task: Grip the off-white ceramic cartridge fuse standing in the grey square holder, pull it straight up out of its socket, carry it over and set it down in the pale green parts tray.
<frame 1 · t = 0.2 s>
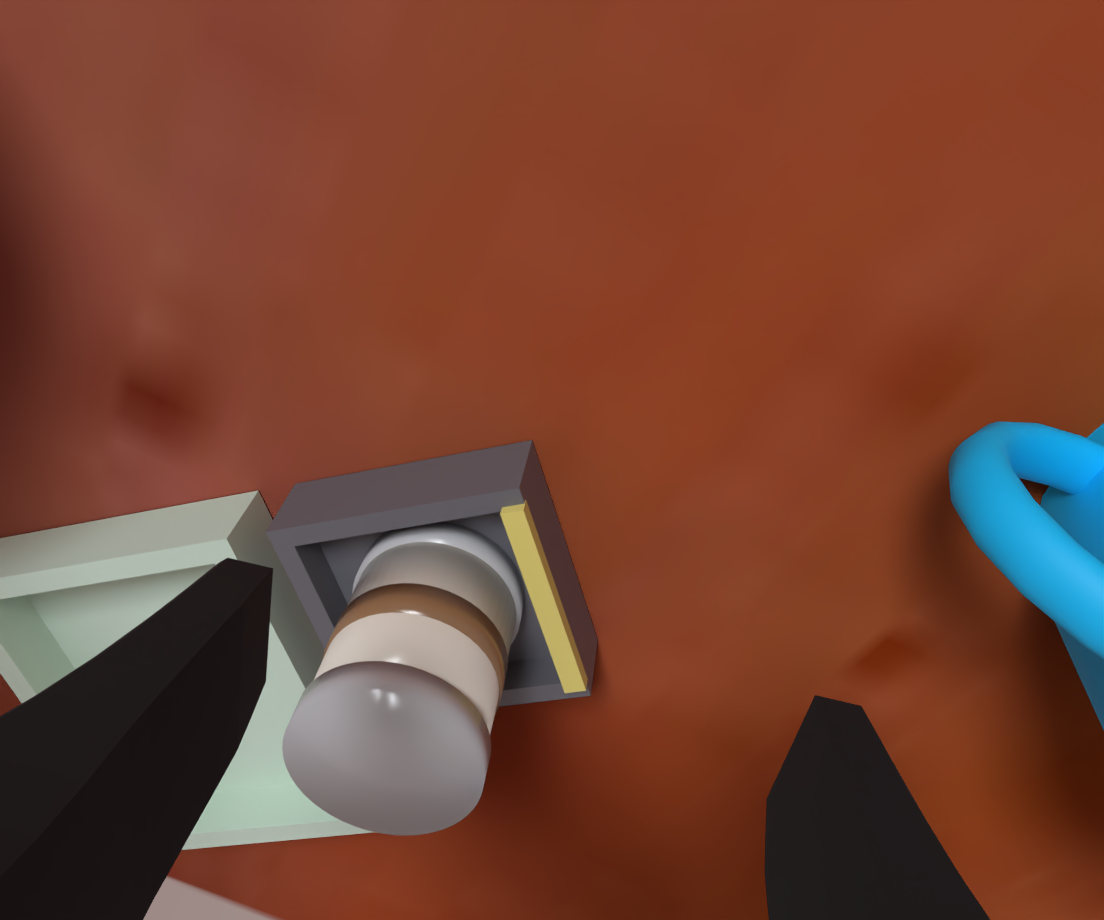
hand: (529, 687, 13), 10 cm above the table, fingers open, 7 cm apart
parts tray: (203, 663, 28), on the table
fuse: (442, 589, 25), point 1 cm above the table, touching grey square holder
grey square holder: (450, 563, 25), on the table
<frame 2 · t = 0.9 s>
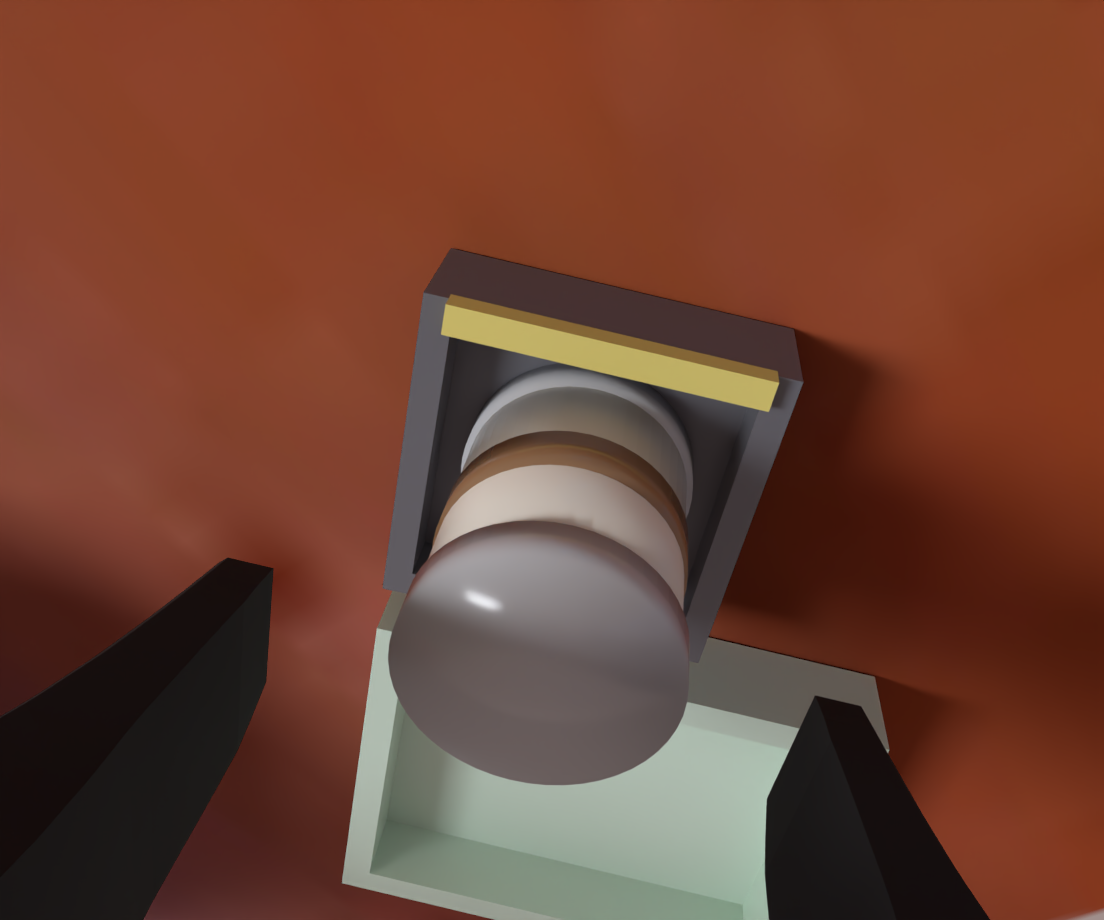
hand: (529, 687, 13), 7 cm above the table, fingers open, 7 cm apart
parts tray: (596, 751, 23), on the table
fuse: (579, 464, 18), point 1 cm above the table, touching grey square holder
grey square holder: (585, 436, 19), on the table
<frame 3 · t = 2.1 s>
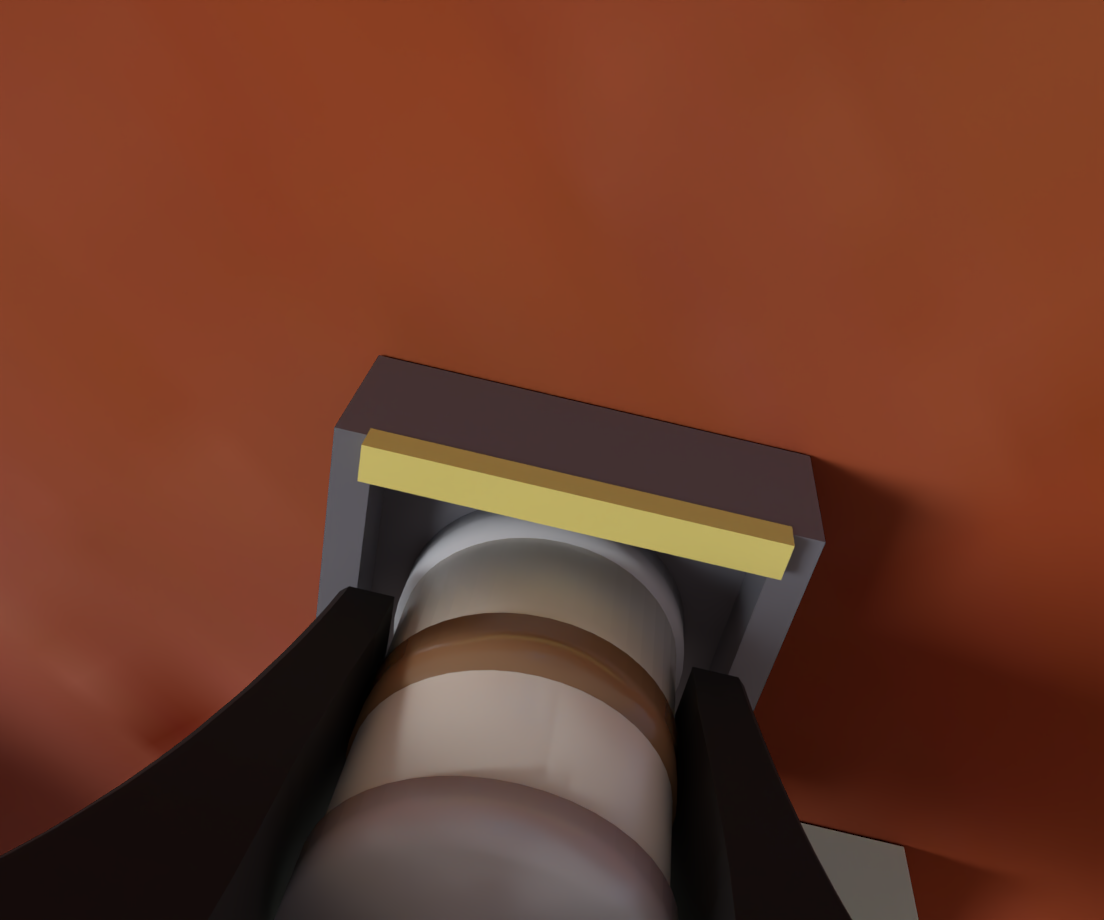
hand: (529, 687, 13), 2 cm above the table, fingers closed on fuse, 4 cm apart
parts tray: (572, 917, 20), on the table
fuse: (543, 618, 15), point 1 cm above the table, touching grey square holder, gripper
grey square holder: (551, 575, 15), on the table
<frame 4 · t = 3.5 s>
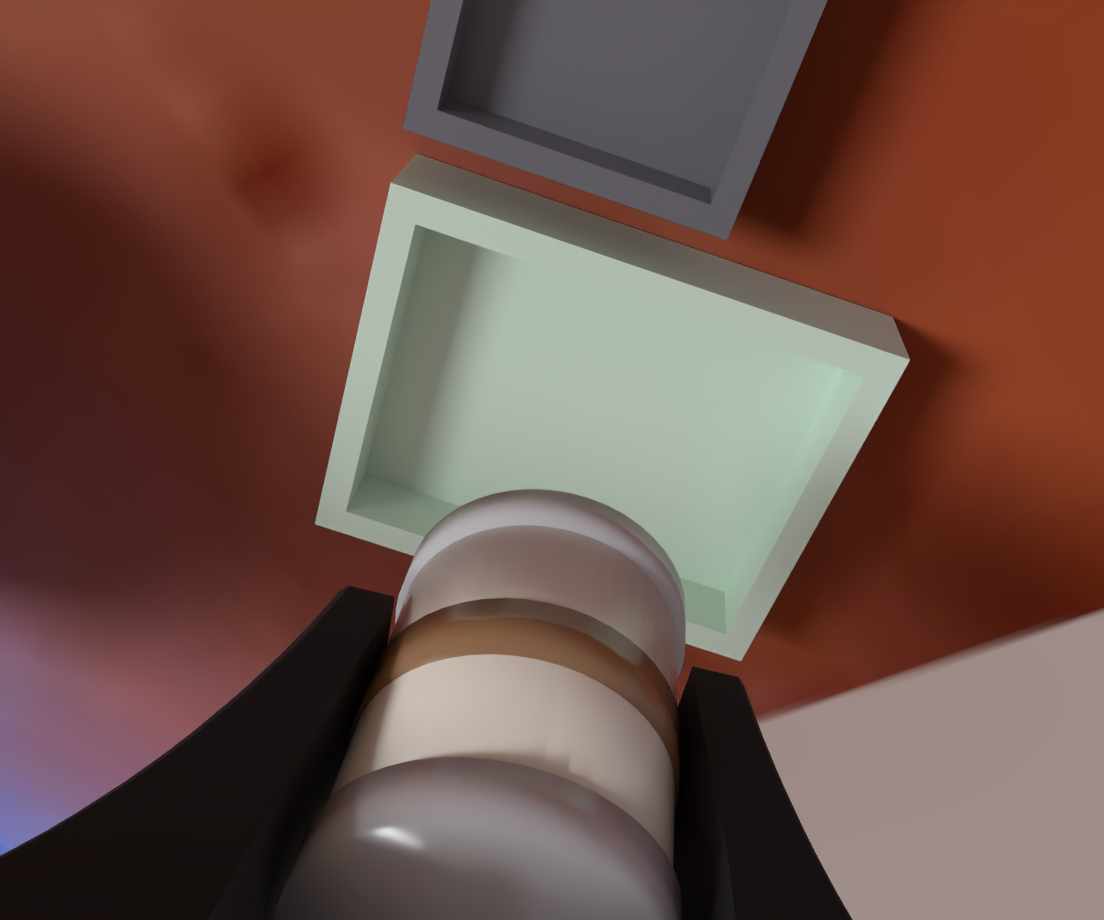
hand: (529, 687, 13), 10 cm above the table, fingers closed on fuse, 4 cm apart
parts tray: (594, 403, 22), on the table
fuse: (544, 607, 15), point 8 cm above the table, touching gripper
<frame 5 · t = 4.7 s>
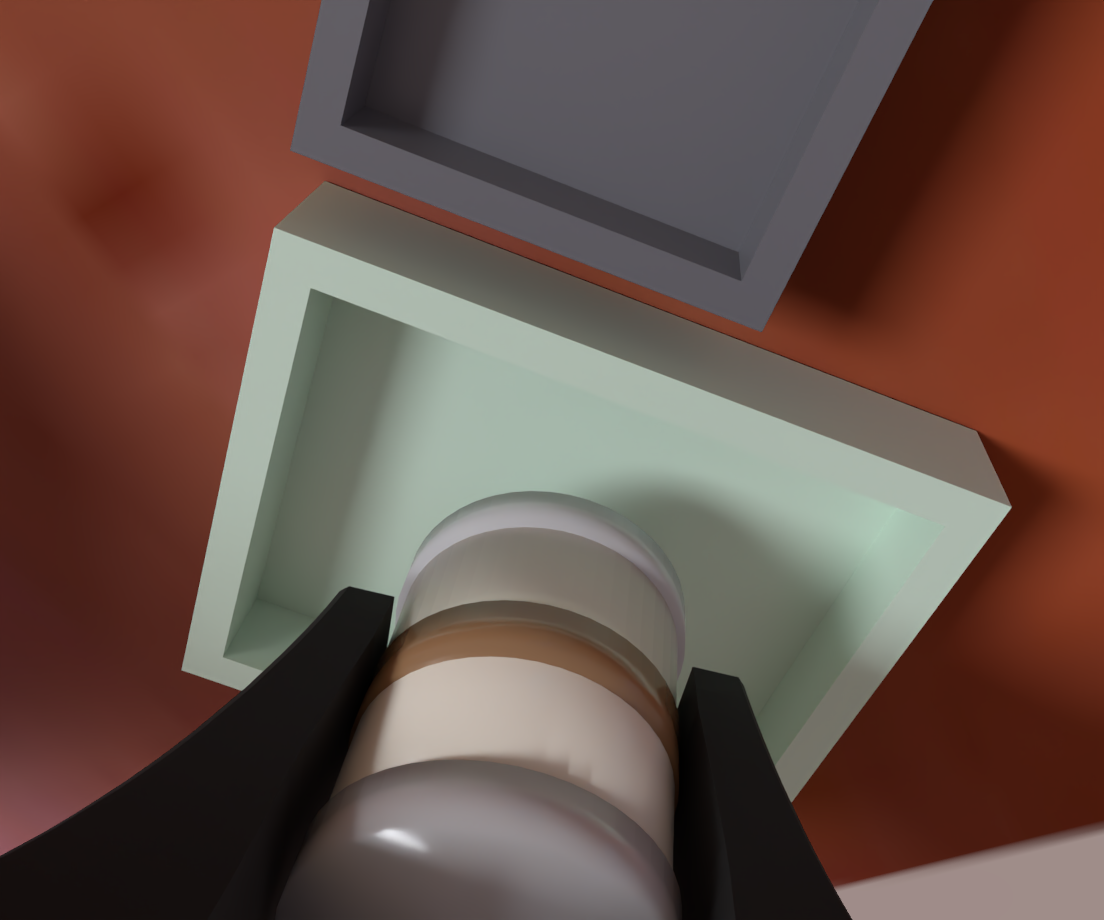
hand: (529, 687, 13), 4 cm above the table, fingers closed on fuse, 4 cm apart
parts tray: (564, 520, 17), on the table
fuse: (544, 608, 15), point 2 cm above the table, touching gripper
when the fingers open (3 cm above the table, at t = 5.3 s): fuse drops 1 cm, resting on parts tray.
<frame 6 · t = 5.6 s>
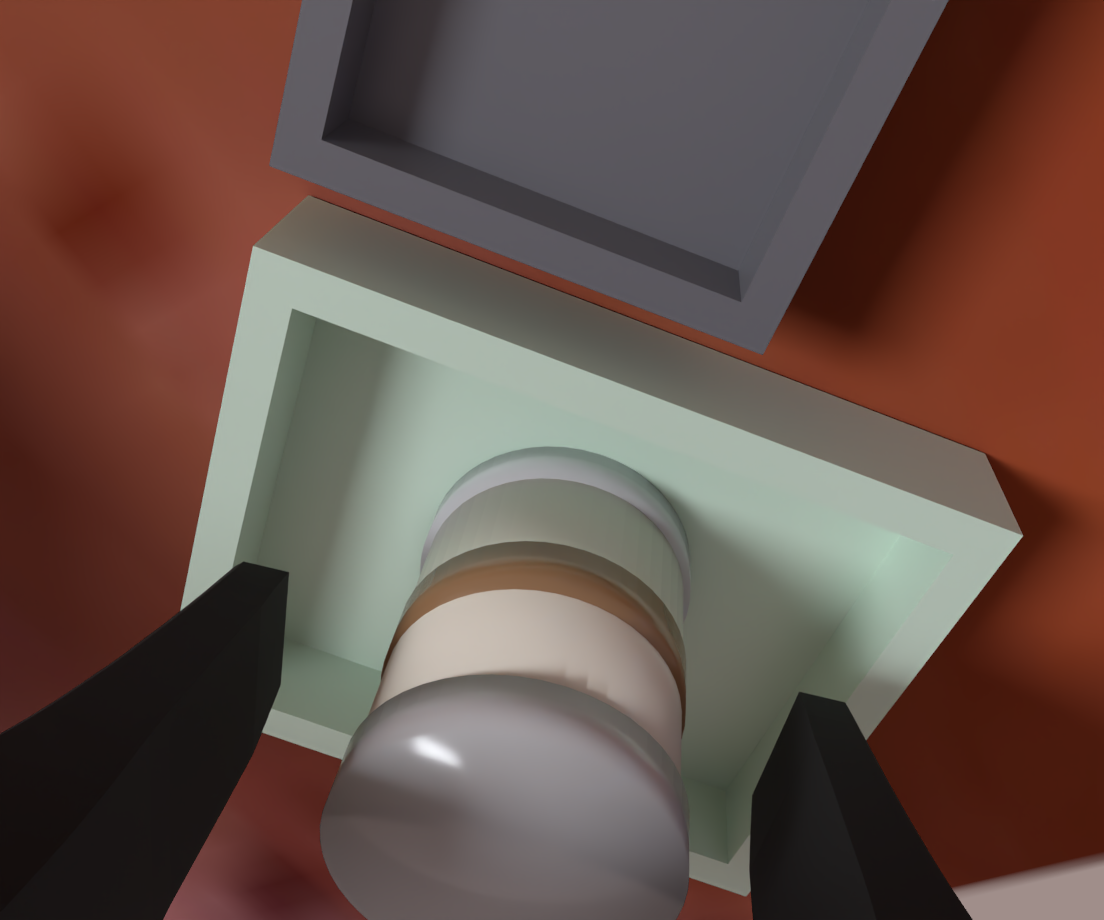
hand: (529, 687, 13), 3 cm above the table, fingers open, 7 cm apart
parts tray: (558, 544, 16), on the table
fuse: (558, 559, 16), point 1 cm above the table, touching parts tray
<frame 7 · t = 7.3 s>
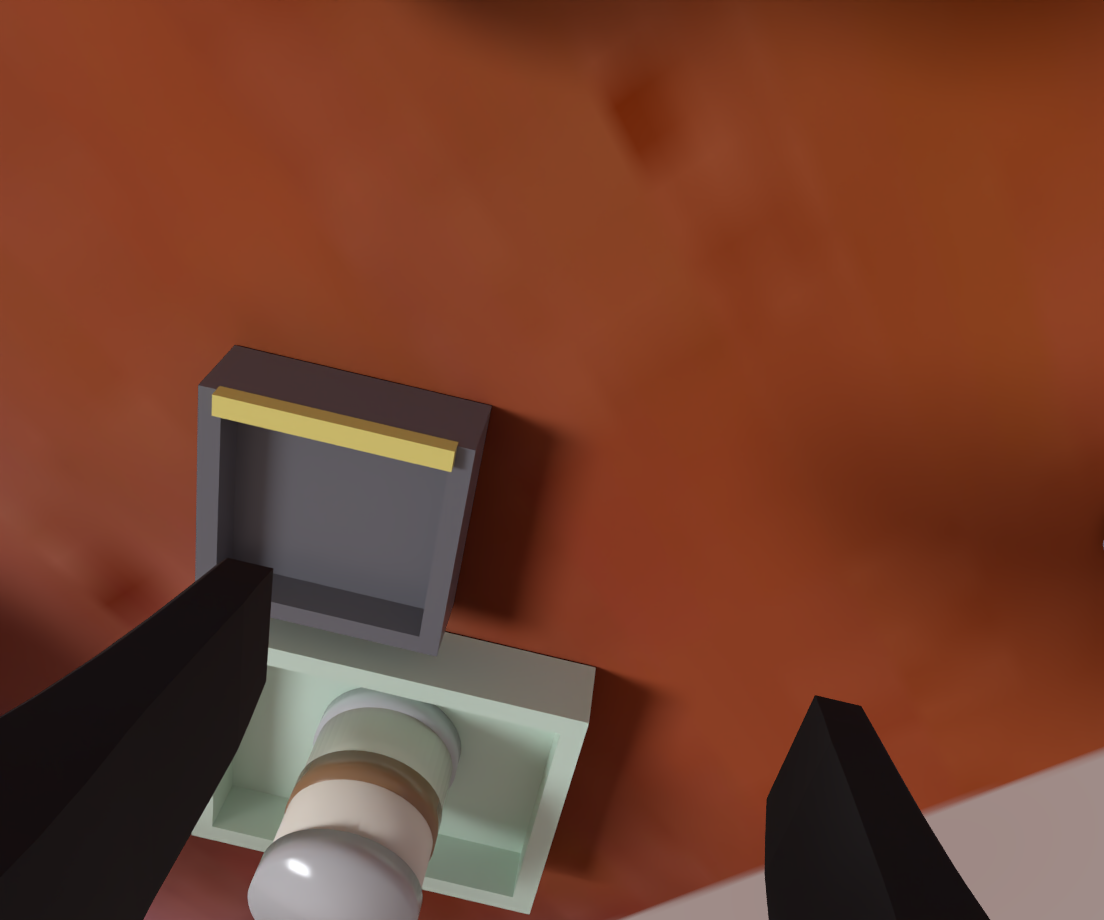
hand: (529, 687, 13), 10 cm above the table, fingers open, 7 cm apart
parts tray: (393, 728, 29), on the table
fuse: (390, 739, 29), resting on parts tray
grey square holder: (351, 482, 25), on the table
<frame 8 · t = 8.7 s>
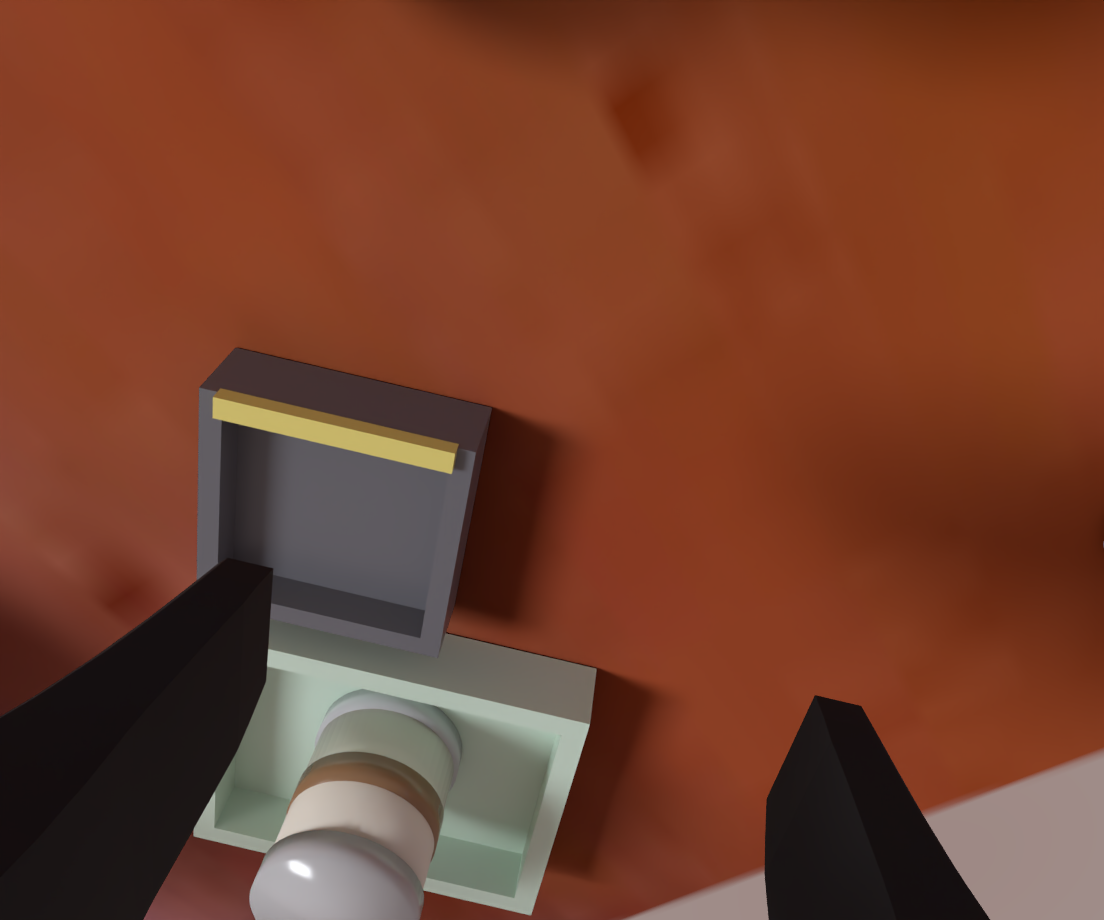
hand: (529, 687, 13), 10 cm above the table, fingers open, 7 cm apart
parts tray: (395, 729, 29), on the table
fuse: (392, 740, 29), resting on parts tray
grey square holder: (352, 484, 25), on the table
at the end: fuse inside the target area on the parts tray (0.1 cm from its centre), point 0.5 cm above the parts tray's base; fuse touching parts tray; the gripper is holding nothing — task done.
